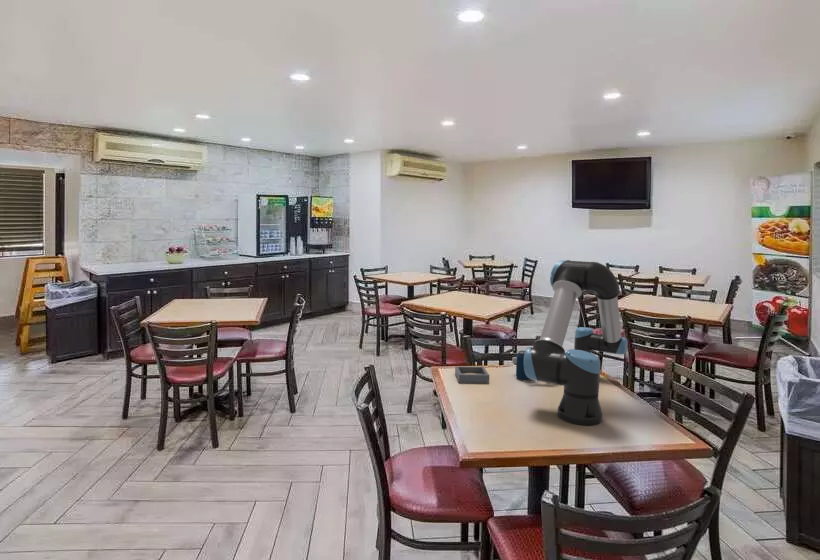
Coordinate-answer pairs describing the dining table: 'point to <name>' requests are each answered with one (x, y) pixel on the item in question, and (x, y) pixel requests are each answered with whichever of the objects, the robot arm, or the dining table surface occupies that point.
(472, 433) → the dining table surface
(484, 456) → the dining table surface
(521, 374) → the soda can
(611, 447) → the dining table surface
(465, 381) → the drink tray
